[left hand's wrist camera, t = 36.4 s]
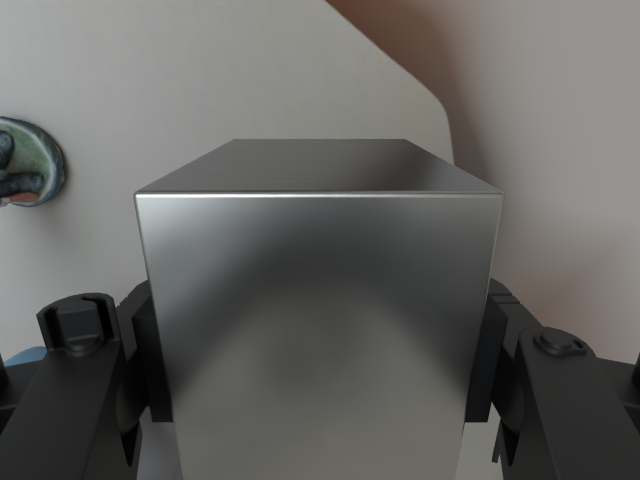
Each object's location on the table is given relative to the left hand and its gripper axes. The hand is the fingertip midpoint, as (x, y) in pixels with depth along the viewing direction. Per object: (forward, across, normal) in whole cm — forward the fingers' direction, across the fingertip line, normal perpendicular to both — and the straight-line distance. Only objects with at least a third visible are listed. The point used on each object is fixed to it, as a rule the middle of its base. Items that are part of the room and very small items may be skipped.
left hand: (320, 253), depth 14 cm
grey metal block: (0, 0, 0) cm, 0 cm away
